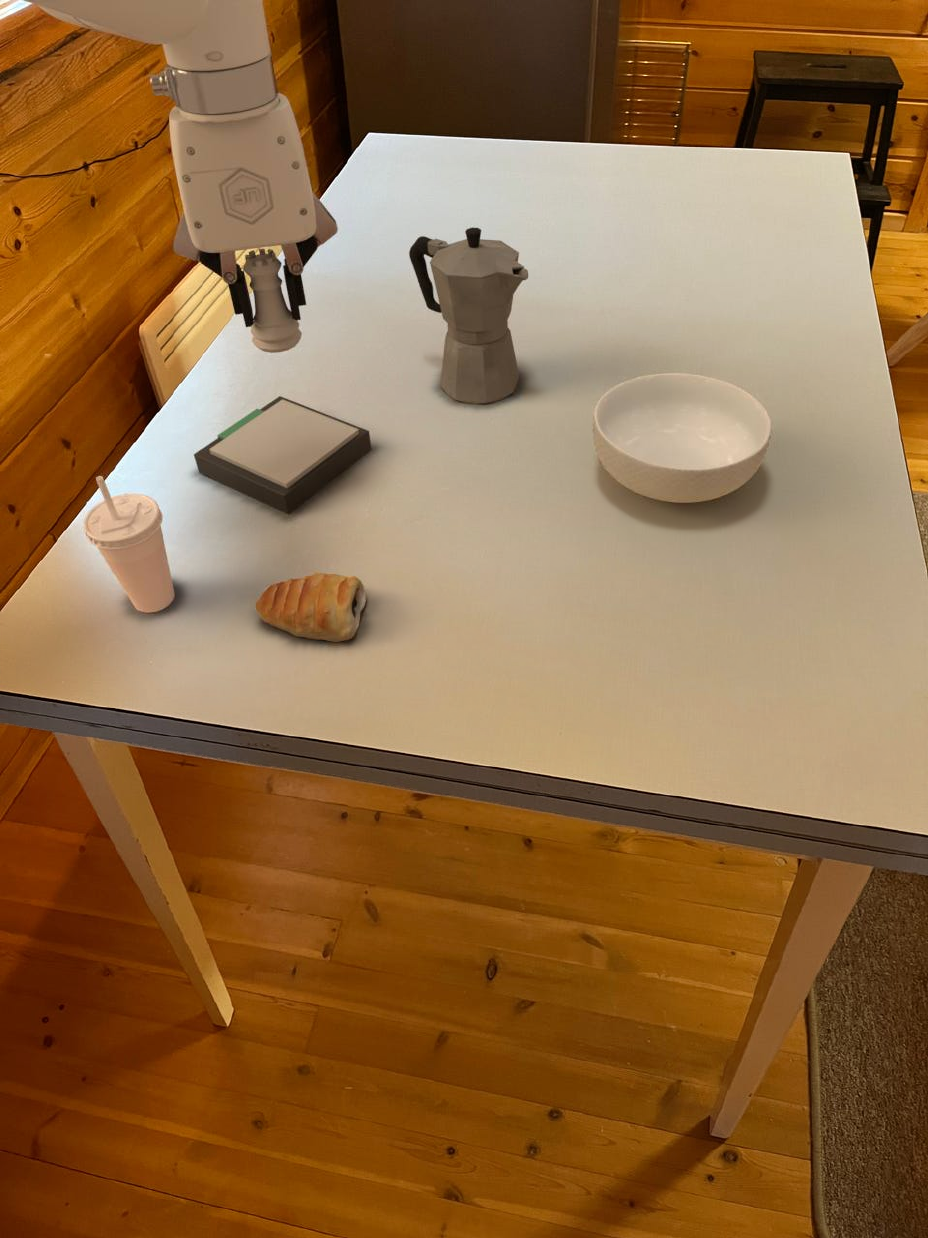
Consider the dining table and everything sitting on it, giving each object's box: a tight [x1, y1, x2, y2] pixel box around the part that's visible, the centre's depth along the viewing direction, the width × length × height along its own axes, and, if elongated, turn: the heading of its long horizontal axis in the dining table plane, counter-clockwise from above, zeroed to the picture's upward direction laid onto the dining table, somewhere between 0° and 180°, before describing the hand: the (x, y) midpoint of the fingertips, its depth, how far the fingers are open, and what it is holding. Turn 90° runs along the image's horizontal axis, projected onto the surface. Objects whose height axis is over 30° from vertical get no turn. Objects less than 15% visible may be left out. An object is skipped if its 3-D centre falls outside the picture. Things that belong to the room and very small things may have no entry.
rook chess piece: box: [242, 247, 303, 354], centre depth 81 cm, size 4×4×8 cm
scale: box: [193, 395, 372, 515], centre depth 98 cm, size 13×13×3 cm
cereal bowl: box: [592, 372, 773, 504], centre depth 91 cm, size 17×17×7 cm
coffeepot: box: [408, 226, 529, 405], centre depth 102 cm, size 15×9×18 cm, turn 53°
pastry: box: [254, 572, 367, 643], centre depth 81 cm, size 9×7×4 cm
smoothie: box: [82, 475, 176, 614], centre depth 80 cm, size 6×6×14 cm
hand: (272, 314), depth 81 cm, fingers closed on rook chess piece, 3 cm apart
